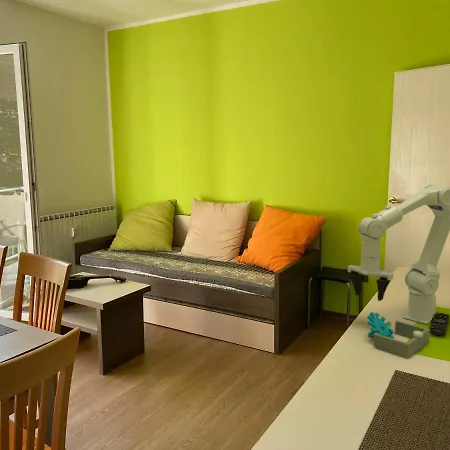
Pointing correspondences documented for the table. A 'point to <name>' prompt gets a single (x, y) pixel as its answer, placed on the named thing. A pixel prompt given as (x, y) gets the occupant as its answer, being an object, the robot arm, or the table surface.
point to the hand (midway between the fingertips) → (369, 297)
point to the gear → (379, 325)
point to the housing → (399, 347)
